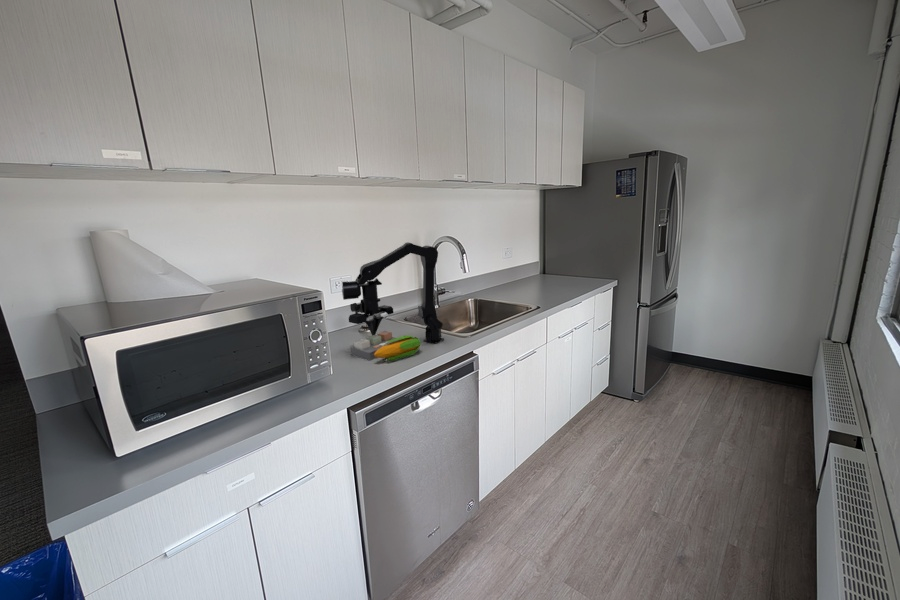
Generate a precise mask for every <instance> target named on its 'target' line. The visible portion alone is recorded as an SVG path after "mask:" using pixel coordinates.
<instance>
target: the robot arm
mask: <svg viewBox="0 0 900 600" xmlns="http://www.w3.org/2000/svg"><path fill="white" fill-rule="evenodd" d="M410 254H411V255H412V254H413V255H417V256H419V257H420V258H419V259H420V263H421V265H422V271H423V272H422V275H423V276H422V303H421V305H418V306H417V309H418V314H417V316H418V317H419V320H420V321H422V322H423V324H424V325H425V326H426V327H425V332H424V333H425V338H424V339H423V340H422V341H423V342H425V343H430V344H437V343H440V342H442V341H444V340H445V337H442V327H443V325H444V324H443V322H441V321H440V320H439V319H438V315H437V309H436V307H435V304H434V303H435V302H434V297H435V296H434V294H435V293H434V291H435V267H436V264H437V262H438V258H439V257H438V256H439V252H438V250H437V248H436V247H434V246H430V245H424V246H422V245H417V244H414V243H411V242H404V243H403V245H401V246H400V247H397V248H396V249H394V250H392V251H390V252H389V253H387V254H385V255H383V256H382V257H381V258H379V259H377V260H372V261H370V262H367V263H365V264H362V265H361V266H360V267H359V274H358V275H357V277H356V279H355V280H353V281H342V282H341V284H342V285H341V286H342V288H341V293H342V294H341V295H342V299H343V300H351V299H353V300H354V299H359V297H361V296H362V299H360V303H358V304H357V302H354V303H351V304H350V305H349V307H350V310H351V311H350V312H352V314H350V315H348V323H352V324H355V325H361V324H364V323H365V324H366V326H367V328H368V330H369V332H370V334H371V336H372V335H377V331H378V329H379V326H380V324H381V322H382V320H383V319H384V316H382V314H384V313H386V315H388V316H389V315H392V314H394V307H393V306H391V305H385V304H384V305H380V306H379V302H381V298H378V297H379V295H378V286H379V285H381V286H382V284H383V283H382V281H380V280H379V279H378V278H377V277H378V276H379V275H381V273H382V272H383V271H385V269H386V268H388V267H390V266H391V265H392V264H395V263H396V262H399V261H400V260H402V259H403V258H405V257H406V256H408V255H410ZM353 312H354V313H353Z"/></svg>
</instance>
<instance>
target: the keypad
mask: <svg viewBox="0 0 900 600" xmlns="http://www.w3.org/2000/svg"><path fill="white" fill-rule="evenodd" d="M395 338H396V337H394V336H392V339H395ZM392 339H389V340H386V341H382V340H381V341H382V342H381V343H379V344H376V345H370V347H368V348H365V349H363V350H360V349H356V348H355V347H354V346H351V347H350V348H349V349H350V355H351V356H353V357H357V358H360V359H363V360H368V361H372V360H375V359H378V358H377V357H375V356H374V354H375V352H376V351H377V350H378V349H380V348H381V347H383V346H385V345H387V344H390V343H392V342H395V341H392V342H389V343H387V342H388V341H390V340H392ZM400 340H401V339H400ZM396 341H398V340H396Z"/></svg>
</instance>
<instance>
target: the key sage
mask: <svg viewBox="0 0 900 600" xmlns="http://www.w3.org/2000/svg"><path fill="white" fill-rule="evenodd" d="M365 339H366V340H370V345H376V344H379V343H381V342H382V341H381V336H378V335H377V334H375V335H372V334H371V335H369V336H367V337H365Z"/></svg>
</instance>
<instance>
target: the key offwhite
mask: <svg viewBox="0 0 900 600" xmlns="http://www.w3.org/2000/svg"><path fill="white" fill-rule="evenodd" d="M353 344H354V346H353V347H355V348H356V349H360V350H363V349H365V348H368V347H370V340H366V338H361V339H358V340H355V341H353Z"/></svg>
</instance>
